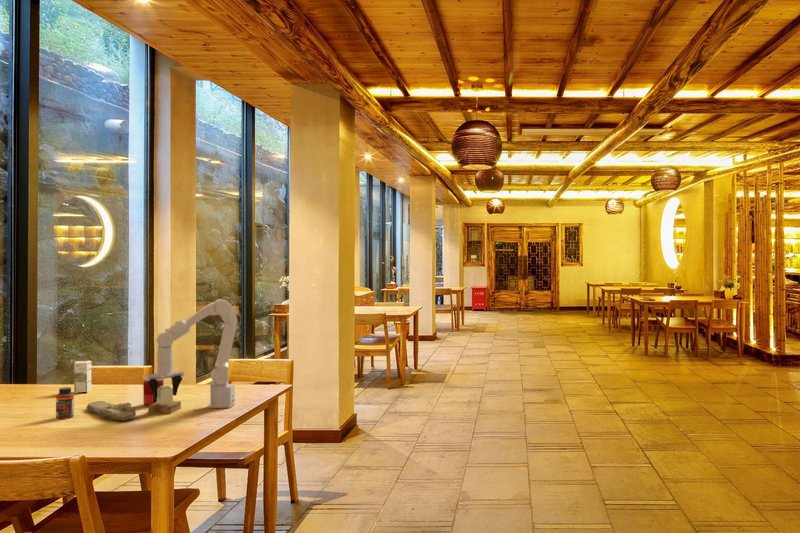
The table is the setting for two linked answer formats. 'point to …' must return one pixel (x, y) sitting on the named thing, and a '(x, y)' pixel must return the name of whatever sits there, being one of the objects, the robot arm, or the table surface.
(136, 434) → the table surface
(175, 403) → the walnut box
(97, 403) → the long grey stone
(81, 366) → the syrup box
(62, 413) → the supplement bottle
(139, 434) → the table surface
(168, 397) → the cream cube with panel
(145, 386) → the canned food
